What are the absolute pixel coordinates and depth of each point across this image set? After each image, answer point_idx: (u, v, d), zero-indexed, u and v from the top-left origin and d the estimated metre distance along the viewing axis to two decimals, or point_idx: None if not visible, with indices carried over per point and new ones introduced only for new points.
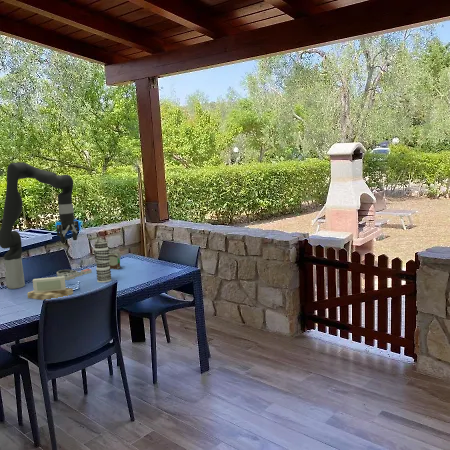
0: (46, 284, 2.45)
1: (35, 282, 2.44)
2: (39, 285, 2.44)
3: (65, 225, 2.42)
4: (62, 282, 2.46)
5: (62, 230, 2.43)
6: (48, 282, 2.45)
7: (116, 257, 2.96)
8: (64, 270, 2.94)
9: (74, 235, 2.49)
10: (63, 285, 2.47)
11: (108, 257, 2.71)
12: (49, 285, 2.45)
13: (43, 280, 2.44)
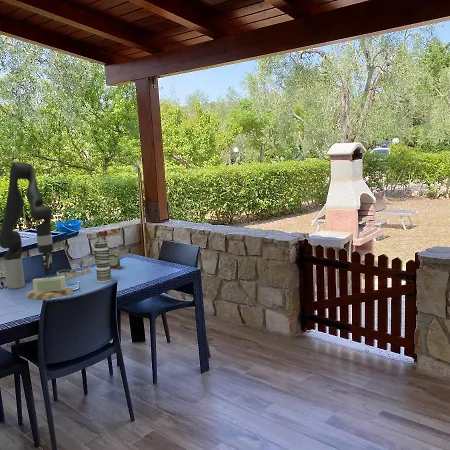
0: (46, 284, 2.45)
1: (35, 282, 2.44)
2: (39, 285, 2.44)
3: None
4: (62, 282, 2.46)
5: (50, 259, 2.48)
6: (48, 282, 2.45)
7: (116, 257, 2.96)
8: (64, 270, 2.95)
9: None
10: (63, 285, 2.47)
11: (108, 257, 2.71)
12: (49, 285, 2.45)
13: (43, 280, 2.44)
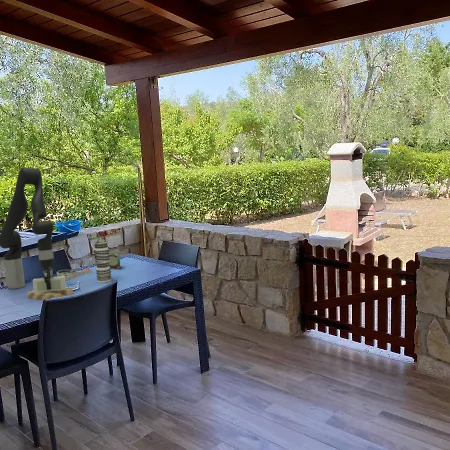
0: None
1: (35, 282, 2.44)
2: (39, 285, 2.44)
3: None
4: (62, 282, 2.46)
5: (51, 274, 2.48)
6: None
7: (116, 257, 2.96)
8: (64, 270, 2.95)
9: None
10: (63, 285, 2.47)
11: (108, 257, 2.71)
12: None
13: (43, 280, 2.44)
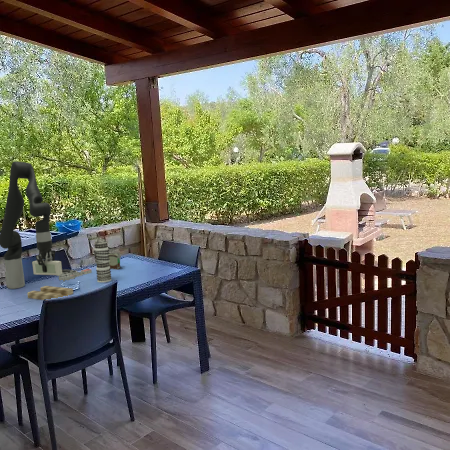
0: None
1: (34, 264, 2.45)
2: (37, 267, 2.45)
3: None
4: (56, 267, 2.42)
5: None
6: None
7: (116, 257, 2.96)
8: (64, 270, 2.95)
9: None
10: (57, 270, 2.42)
11: (108, 257, 2.71)
12: None
13: None
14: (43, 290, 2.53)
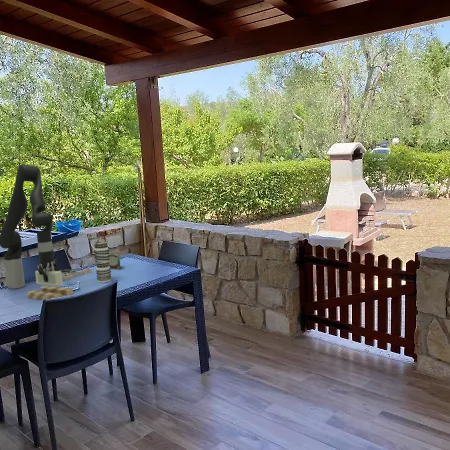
0: None
1: (37, 273, 2.47)
2: (39, 277, 2.46)
3: None
4: (56, 277, 2.42)
5: None
6: None
7: (116, 257, 2.96)
8: (64, 270, 2.95)
9: None
10: (57, 281, 2.42)
11: (108, 257, 2.71)
12: None
13: None
14: (43, 290, 2.53)
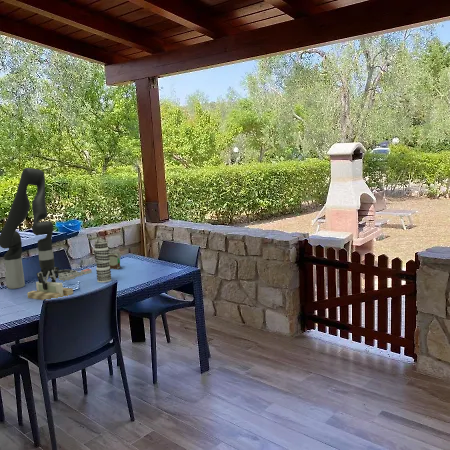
0: None
1: (38, 284, 2.48)
2: (40, 288, 2.47)
3: None
4: (57, 289, 2.43)
5: (53, 274, 2.47)
6: None
7: (116, 257, 2.96)
8: (64, 270, 2.95)
9: None
10: (58, 292, 2.43)
11: (108, 257, 2.71)
12: (47, 289, 2.45)
13: None
14: None
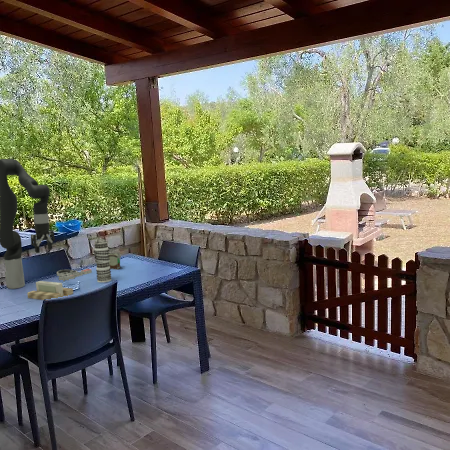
0: (45, 288, 2.46)
1: (37, 284, 2.48)
2: (40, 288, 2.47)
3: None
4: (57, 289, 2.43)
5: None
6: (46, 287, 2.45)
7: (116, 257, 2.96)
8: (64, 270, 2.95)
9: None
10: (58, 292, 2.43)
11: (108, 257, 2.71)
12: (47, 290, 2.45)
13: (43, 284, 2.46)
14: None
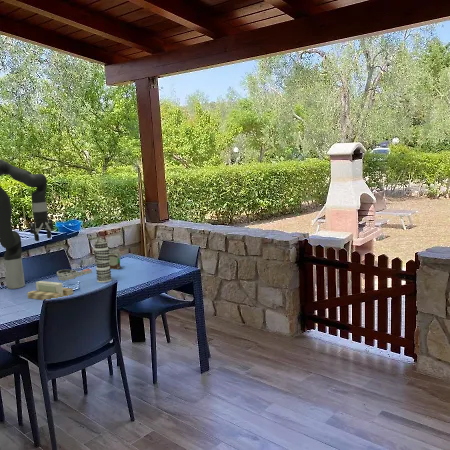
0: (45, 288, 2.46)
1: (37, 284, 2.48)
2: (40, 288, 2.47)
3: None
4: (57, 289, 2.43)
5: None
6: (46, 287, 2.45)
7: (116, 257, 2.96)
8: (64, 270, 2.95)
9: None
10: (58, 292, 2.43)
11: (108, 257, 2.71)
12: (47, 290, 2.45)
13: (43, 284, 2.46)
14: None
